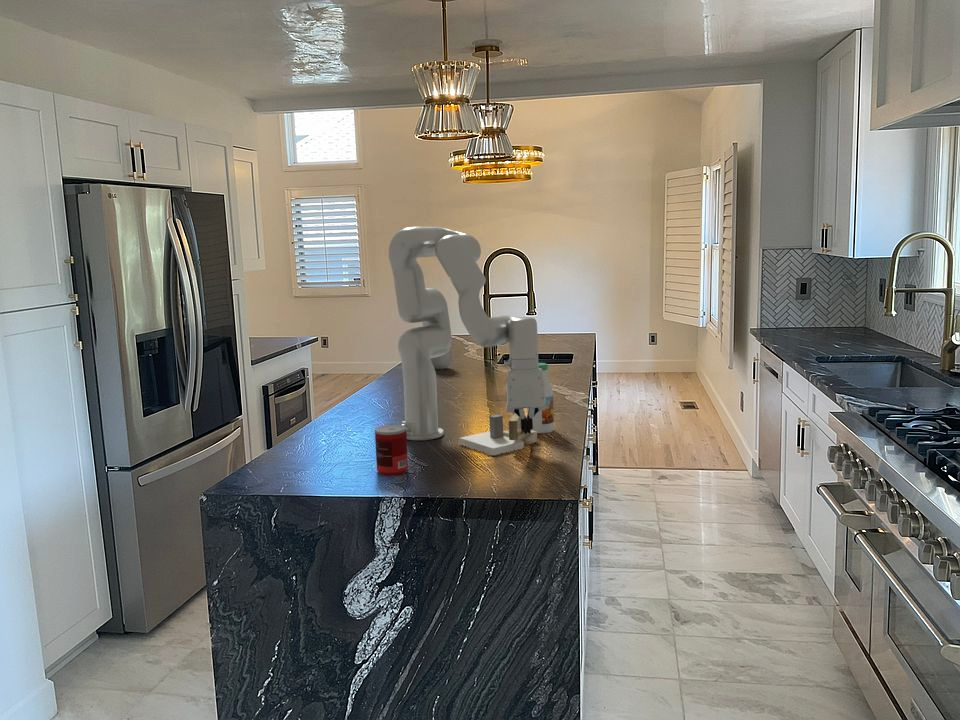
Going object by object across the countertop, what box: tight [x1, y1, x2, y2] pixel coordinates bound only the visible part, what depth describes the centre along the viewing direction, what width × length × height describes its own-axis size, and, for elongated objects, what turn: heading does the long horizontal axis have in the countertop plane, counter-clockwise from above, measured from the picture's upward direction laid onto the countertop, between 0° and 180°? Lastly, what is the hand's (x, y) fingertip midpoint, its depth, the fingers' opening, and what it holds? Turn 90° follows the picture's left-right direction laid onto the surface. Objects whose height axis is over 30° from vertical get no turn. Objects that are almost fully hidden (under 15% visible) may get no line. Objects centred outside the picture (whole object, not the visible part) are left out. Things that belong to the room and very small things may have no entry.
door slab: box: [458, 414, 525, 456], centre depth 217 cm, size 10×15×8 cm
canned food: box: [374, 424, 409, 477], centre depth 196 cm, size 8×8×11 cm
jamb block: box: [503, 429, 538, 446], centre depth 221 cm, size 7×7×3 cm
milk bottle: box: [526, 362, 555, 434], centre depth 231 cm, size 8×8×20 cm
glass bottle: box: [431, 346, 452, 370], centre depth 344 cm, size 10×10×28 cm
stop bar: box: [508, 413, 523, 440], centre depth 216 cm, size 13×3×5 cm, turn 169°
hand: (527, 432), depth 211 cm, fingers closed
